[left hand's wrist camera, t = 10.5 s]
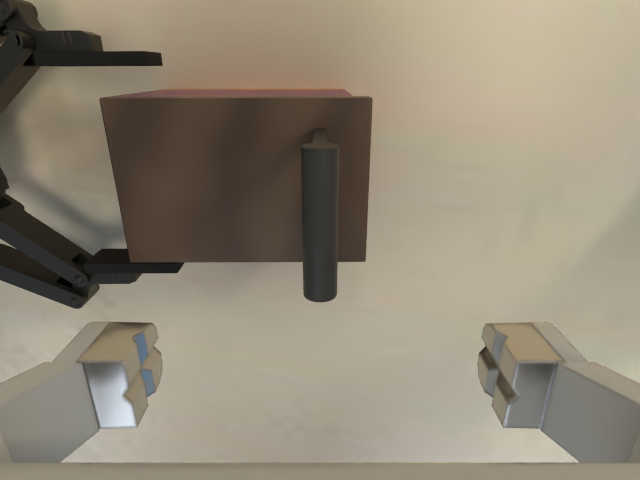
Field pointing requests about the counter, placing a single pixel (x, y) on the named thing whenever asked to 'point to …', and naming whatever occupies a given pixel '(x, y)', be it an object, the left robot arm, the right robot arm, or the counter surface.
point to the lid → (244, 180)
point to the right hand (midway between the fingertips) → (170, 168)
